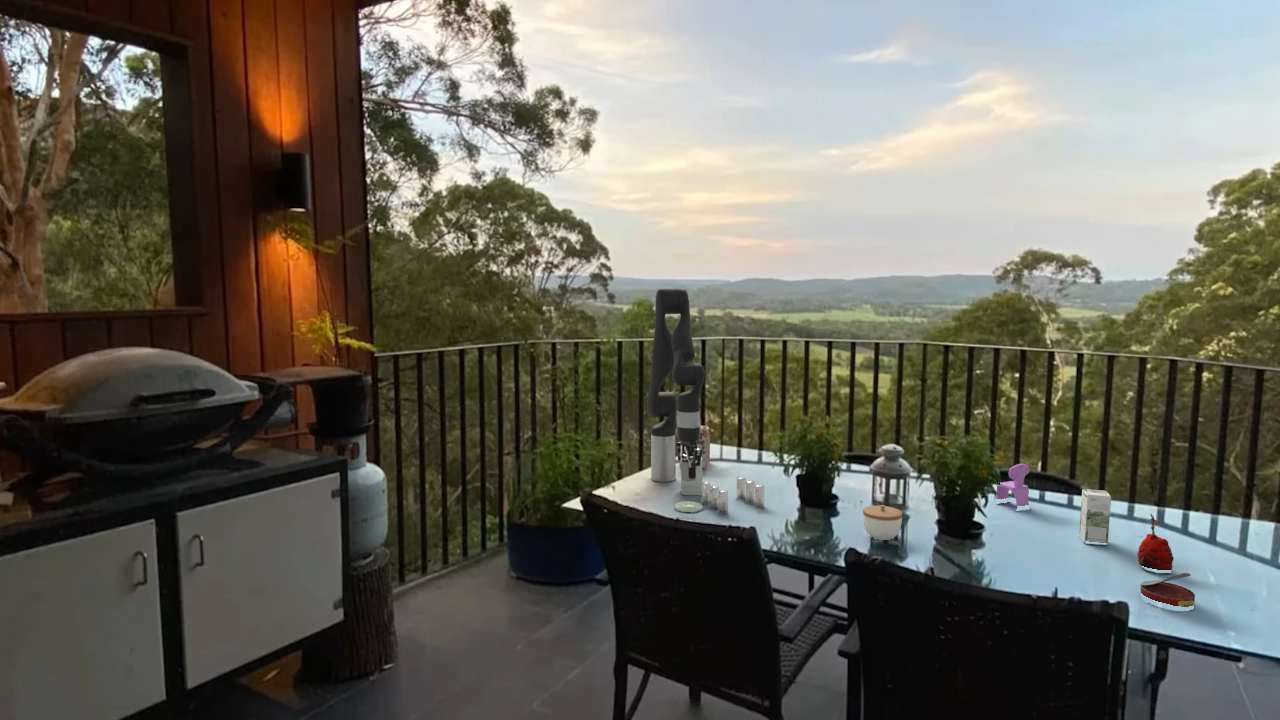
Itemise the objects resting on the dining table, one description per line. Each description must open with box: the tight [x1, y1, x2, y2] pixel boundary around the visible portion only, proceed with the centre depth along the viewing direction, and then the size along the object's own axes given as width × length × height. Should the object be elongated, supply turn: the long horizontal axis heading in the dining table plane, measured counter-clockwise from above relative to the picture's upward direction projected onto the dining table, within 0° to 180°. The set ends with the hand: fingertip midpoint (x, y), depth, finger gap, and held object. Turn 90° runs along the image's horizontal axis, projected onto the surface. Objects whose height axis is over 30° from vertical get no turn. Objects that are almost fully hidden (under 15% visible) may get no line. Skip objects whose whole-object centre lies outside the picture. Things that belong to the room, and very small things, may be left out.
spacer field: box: [700, 476, 765, 515], centre depth 233 cm, size 14×17×7 cm
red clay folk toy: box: [1137, 513, 1174, 571], centre depth 176 cm, size 8×7×15 cm
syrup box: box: [1078, 488, 1112, 544], centre depth 196 cm, size 6×6×14 cm
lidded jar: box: [862, 504, 903, 541], centre depth 201 cm, size 11×11×9 cm
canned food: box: [1140, 572, 1196, 607], centre depth 158 cm, size 11×10×10 cm
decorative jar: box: [679, 422, 711, 470], centre depth 286 cm, size 12×12×18 cm
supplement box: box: [680, 456, 703, 496], centre depth 248 cm, size 7×7×13 cm
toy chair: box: [996, 463, 1030, 507], centre depth 228 cm, size 8×9×15 cm
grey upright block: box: [682, 460, 695, 481], centre depth 228 cm, size 4×5×6 cm
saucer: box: [674, 501, 703, 514], centre depth 230 cm, size 9×9×1 cm
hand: (688, 476), depth 229 cm, fingers closed on grey upright block, 4 cm apart
